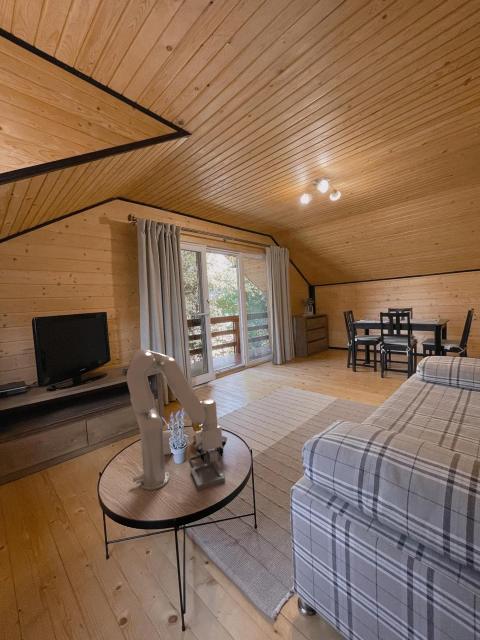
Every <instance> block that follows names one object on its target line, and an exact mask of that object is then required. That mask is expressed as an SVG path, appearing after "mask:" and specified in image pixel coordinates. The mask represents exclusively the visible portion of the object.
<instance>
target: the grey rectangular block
mask: <svg viewBox="0 0 480 640" xmlns="http://www.w3.org/2000/svg"><path fill="white" fill-rule="evenodd" d="M205 457H206V461H207V462H208V463H211V462H214V461H215V463H216V464H217V465H218V464H219V452H217V450H216V449H215V448H214V449H211V450H207V451H206V456H205Z"/></svg>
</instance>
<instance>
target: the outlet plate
mask: <svg viewBox="0 0 480 640" xmlns="http://www.w3.org/2000/svg"><path fill="white" fill-rule="evenodd" d="M218 426H219V428H220V432H221V436H223V430H222V426H221V425H218ZM195 435H196V442H195V444H197V443H198V442H200V441H201V431H197V432H196V433H195ZM223 441H224V440H223V439H222V442H223ZM200 448H201V445H200V446H199V447H198V449H200ZM215 449H216V450H217V448H215ZM196 453H197V456H198V455H200V453H198V452H197V451H196ZM205 453H206V451H204V453H203V454H205Z"/></svg>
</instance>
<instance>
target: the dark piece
mask: <svg viewBox="0 0 480 640" xmlns="http://www.w3.org/2000/svg"><path fill="white" fill-rule="evenodd" d="M217 452H218V453H219V447H218V448H217ZM203 454H204V457H206V453H203ZM199 458H200V455H198V454H197V455H195V456H192V457H189V458H188V461H189V463H190V465H191V468H194V467H195V466H194V465H195V464H194V463H193V460H194V459H195V460H196V459H199Z"/></svg>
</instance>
